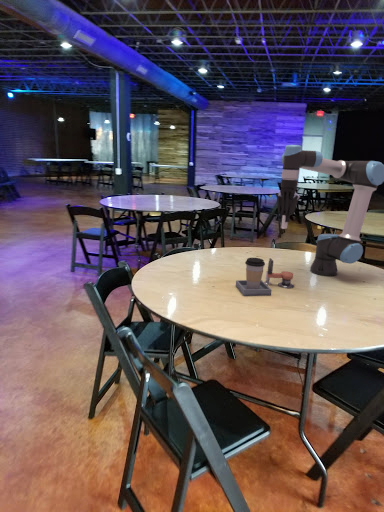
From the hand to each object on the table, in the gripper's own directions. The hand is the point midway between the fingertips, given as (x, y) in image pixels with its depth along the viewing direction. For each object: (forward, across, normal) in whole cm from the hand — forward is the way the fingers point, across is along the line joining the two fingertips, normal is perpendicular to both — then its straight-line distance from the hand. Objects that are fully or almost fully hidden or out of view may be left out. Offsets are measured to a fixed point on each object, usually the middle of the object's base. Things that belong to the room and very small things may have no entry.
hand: (284, 228), depth 168 cm
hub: (+30, -2, -5) cm, 31 cm away
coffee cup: (+30, +3, +16) cm, 34 cm away
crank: (+26, +1, -2) cm, 26 cm away
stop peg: (+30, +6, +1) cm, 31 cm away
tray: (+30, +3, +16) cm, 34 cm away
